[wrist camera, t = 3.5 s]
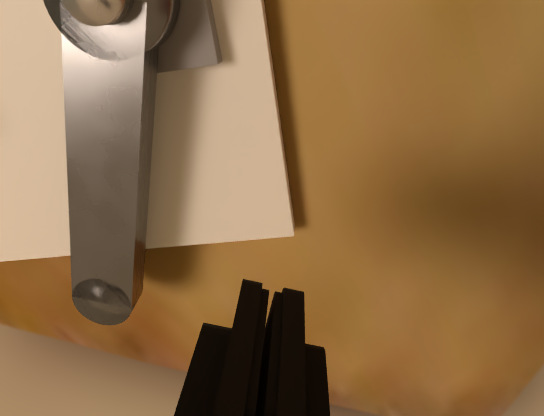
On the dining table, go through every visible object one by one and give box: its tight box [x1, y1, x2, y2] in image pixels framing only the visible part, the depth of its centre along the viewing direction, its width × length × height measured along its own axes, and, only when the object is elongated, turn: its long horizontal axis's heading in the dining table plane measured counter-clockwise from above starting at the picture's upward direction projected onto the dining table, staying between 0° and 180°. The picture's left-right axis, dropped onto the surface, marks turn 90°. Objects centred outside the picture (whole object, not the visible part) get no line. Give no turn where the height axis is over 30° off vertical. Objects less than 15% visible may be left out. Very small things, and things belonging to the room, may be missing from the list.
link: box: [43, 0, 180, 325], centre depth 17 cm, size 18×4×3 cm, turn 168°
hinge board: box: [0, 0, 295, 262], centre depth 17 cm, size 22×18×6 cm
